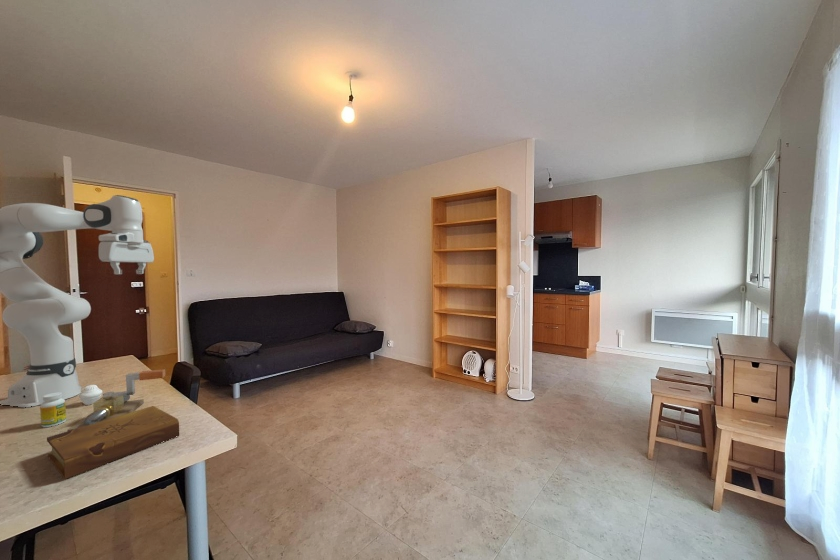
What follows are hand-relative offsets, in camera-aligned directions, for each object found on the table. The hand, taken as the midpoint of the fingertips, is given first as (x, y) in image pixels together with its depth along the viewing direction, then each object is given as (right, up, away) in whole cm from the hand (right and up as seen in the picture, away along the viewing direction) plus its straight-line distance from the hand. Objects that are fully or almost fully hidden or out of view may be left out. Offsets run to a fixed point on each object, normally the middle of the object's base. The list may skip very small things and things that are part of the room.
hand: (129, 274), depth 124 cm
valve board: (+8, -49, -16) cm, 52 cm away
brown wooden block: (+27, -50, -34) cm, 66 cm away
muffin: (-10, -49, -4) cm, 50 cm away
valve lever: (+15, -42, -14) cm, 46 cm away
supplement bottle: (-6, -49, -20) cm, 53 cm away
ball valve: (+8, -49, -16) cm, 52 cm away
